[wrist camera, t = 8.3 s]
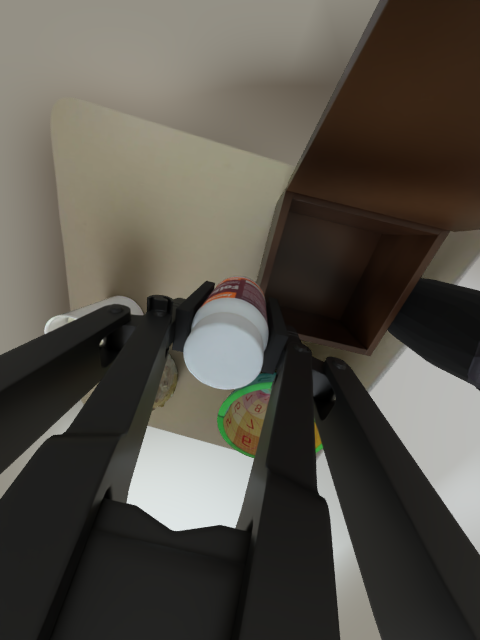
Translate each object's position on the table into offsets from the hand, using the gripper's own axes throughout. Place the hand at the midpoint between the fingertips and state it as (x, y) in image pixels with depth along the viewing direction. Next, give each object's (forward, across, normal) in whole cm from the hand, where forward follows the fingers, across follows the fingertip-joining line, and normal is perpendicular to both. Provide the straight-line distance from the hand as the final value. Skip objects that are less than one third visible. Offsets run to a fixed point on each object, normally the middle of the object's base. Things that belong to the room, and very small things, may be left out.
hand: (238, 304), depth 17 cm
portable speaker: (+19, +26, +1) cm, 32 cm away
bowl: (+19, +12, -26) cm, 35 cm away
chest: (+19, +11, +2) cm, 22 cm away
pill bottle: (+1, 0, 0) cm, 1 cm away
